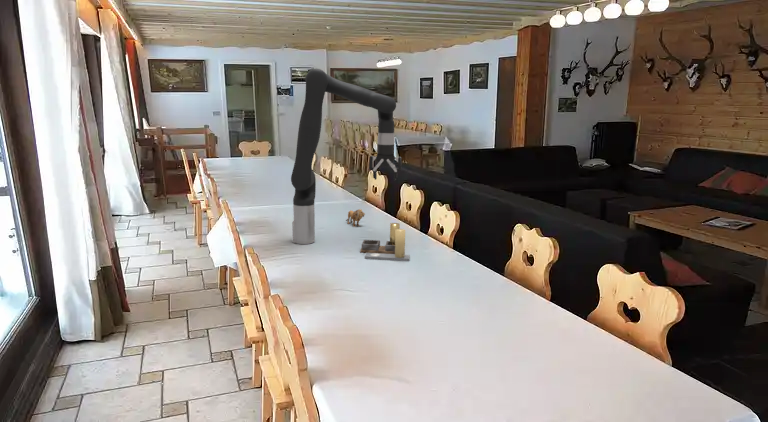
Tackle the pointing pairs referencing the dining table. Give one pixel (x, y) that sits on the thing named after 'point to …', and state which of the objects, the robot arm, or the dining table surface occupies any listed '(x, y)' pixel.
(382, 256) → the plate
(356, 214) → the lion figurine
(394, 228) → the brass pin
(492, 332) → the dining table surface
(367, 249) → the double bowl tray
